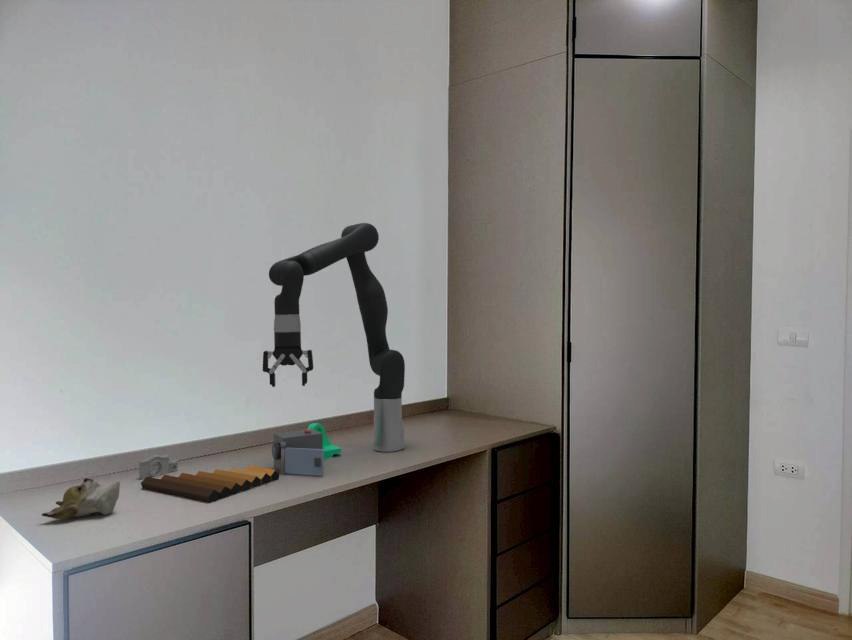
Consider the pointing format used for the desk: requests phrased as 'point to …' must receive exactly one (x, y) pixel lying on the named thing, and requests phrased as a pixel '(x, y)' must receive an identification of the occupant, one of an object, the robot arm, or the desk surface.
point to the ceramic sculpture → (86, 500)
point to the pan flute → (211, 483)
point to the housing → (295, 442)
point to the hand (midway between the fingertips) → (288, 386)
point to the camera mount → (325, 441)
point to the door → (302, 461)
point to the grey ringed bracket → (162, 463)
